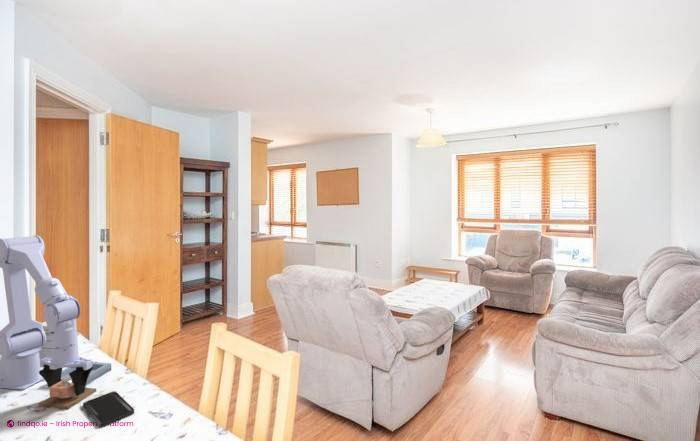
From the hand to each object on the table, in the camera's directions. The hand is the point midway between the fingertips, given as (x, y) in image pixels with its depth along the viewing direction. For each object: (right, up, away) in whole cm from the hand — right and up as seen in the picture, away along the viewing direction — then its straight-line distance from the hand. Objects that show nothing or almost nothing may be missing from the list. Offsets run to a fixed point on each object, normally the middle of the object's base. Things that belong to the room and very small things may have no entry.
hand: (68, 392), depth 102 cm
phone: (+14, -3, -5) cm, 15 cm away
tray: (-5, -1, +12) cm, 13 cm away
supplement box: (-24, 0, +26) cm, 36 cm away
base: (0, -2, 0) cm, 2 cm away
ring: (0, 0, 0) cm, 0 cm away
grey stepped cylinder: (0, -2, 0) cm, 2 cm away
